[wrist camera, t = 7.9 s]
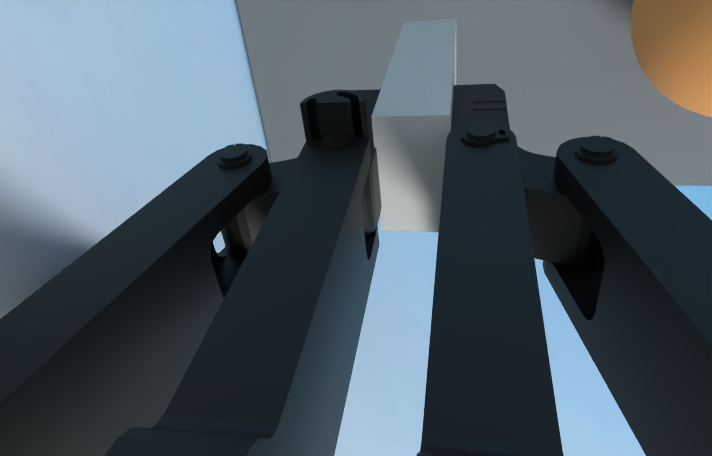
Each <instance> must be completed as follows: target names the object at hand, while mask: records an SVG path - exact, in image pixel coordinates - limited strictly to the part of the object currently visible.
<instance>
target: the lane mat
mask: <svg viewBox="0 0 712 456" xmlns="http://www.w3.org/2000/svg"><path fill="white" fill-rule="evenodd" d="M633 1H634V0H236V2H237V7H238V11H239V16H240V20H241V25H242V30H243V34H244V39H245V43H246V48H247V52H248V57H249V62H250V66H251V71H252V75H253V80H254V84H255V89H256V93H257V98H258V103H259V107H260V112H261V116H262V121H263V125H264V130H265V135H266V139H267V144H268V148H269V153H270V157H271V162H278V161H284V160H289V159H293V158H297V157H298V156H299V154H300V152H301V150H302V148H303V146H304V144H305V142H306V138H305V132H304V126H303V120H302V114H301V109H300V103H301V102H302V101H303V100H304V99H305V98H307V97H309V96H311V95H313V94H316V93H320V92H324V91H330V90H352V91H353V90H375V89H381V87H382V85H383V82H384V79H385V76H386V73H387V70H388V67H389V64H390V61H391V58H392V55H393V53H394V50H395V47H396V44H397V41H398V38H399V35H400V32H401V29H402V26H403V23H404V22H414V21H431V20H448V19H456V85H471V84H496V85H497V86H499V87H500V88H501V89H502V90H504V91H505V96H506V103H507V111H508V118H509V125H510V130H511V131H513V133H514V134H515V136H516V138H517V145H518V147H520V148H522V149H524V150H526V151H529V152H531V153H535V154H540V155H545V156H552V157H556V152H557V149H558V148H559V146H560V144H562V143H564V142H566V141H568V140H570V139H575V138H579V137H590V136H601V137H603V136H605V137H610V138H612V139H614V140H617V141H620V142H624V143H625V144H627V145H629V146H630V147H632V148H634V149H635V150H636V151H637V152H638V153H639V154H640V155H641V156H642V157H643V158H644V159H646V160H647V161H648V162H649V163H650V164H651V165H652V166H653V167H654V168H655V169H656V170H658V171H659V172H660V173H661V174H662V175H663V176H664V177H665V178H666V179H667V180H668V181H669V182H671V183H672V184H673V185H697V186H712V117H708V116H704V115H701V114H698V113H696V112H693V111H690V110H687V109H685V108H683V107H681V106H679V105H677V104H675V103H674V102H672V101H671V100H669V99H668V98H667V97H665V96H664V95H663V94H661V93H660V92H659V91H658V90H657V89H656V88H655V86H654V85H653V84H652V83H651V82H650V81H649V80H648V78H647V77H646V75H645V74H644V72H643V71H642V69H641V67H640V65H639V62H638V60H637V58H636V55H635V52H634V48H633V44H632V38H631V12H632V5H633Z"/></svg>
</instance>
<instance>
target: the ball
mask: <svg viewBox="0 0 712 456" xmlns="http://www.w3.org/2000/svg"><path fill="white" fill-rule="evenodd" d="M631 38H632V44H633V48H634V52H635V55H636V58H637V60H638V62H639V65H640V67H641V69H642V71H643V72H644V74H645V75H646V77H647V78H648V80H649V81H650V82H651V83H652V84H653V85H654V86H655V88H656V89H657V90H658V91H659V92H660V93H661V94H663V95H664V96H665V97H667V98H668V99H669V100H671V101H672V102H674V103H675V104H677V105H679V106H681V107H683V108H685V109H687V110H690V111H693V112H696V113H698V114H701V115H704V116H708V117H712V0H634V1H633V5H632V12H631Z"/></svg>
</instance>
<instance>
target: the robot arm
mask: <svg viewBox="0 0 712 456" xmlns="http://www.w3.org/2000/svg"><path fill="white" fill-rule="evenodd" d="M300 109H301V114H302V120H303V126H304V132H305V138H306V142H305V144H304V146H303V148H302V150H301V152H300V154H299V156H298V157H297V158H293V159H289V160H284V161H278V162H272V163H269V160H268V155H267V151H266V150H265V149H264V148H262V147H261V146H257V145H253V144H236V145H234V144H233V145H228V146H226V147H225V148H223V149H220V150H217V151H215V152H214V153H212V154H210V155H209V156H207V157H206V158H205V159H203V160H202V161H201V162H200V163H198V164H197V165H196V166H195V167H193V168H192V169H191V170H190V171H188V172H187V173H186V174H184V175H183V176H182V177H181V178H179V179H178V180H177V181H176V182H174V183H173V184H172V185H170V186H169V187H168V188H167V189H165V190H164V191H163V192H162V193H160V194H159V195H158V196H156V197H155V198H154V199H153V200H151V201H150V202H149V203H148V204H146V205H145V206H144V207H143V208H141V209H140V210H139V211H137V212H136V213H135V214H134V215H132V216H131V217H130V218H129V219H127V220H126V221H125V222H123V223H122V224H121V225H120V226H118V227H117V228H116V229H115V230H113V231H112V232H111V233H110V234H108V235H107V236H106V237H104V238H103V239H102V240H101V241H99V242H98V243H97V244H96V245H94V246H93V247H92V248H90V249H89V250H88V251H87V252H85V253H84V254H83V255H82V256H80V257H79V258H78V259H76V260H75V261H74V262H73V263H71V264H70V265H69V266H68V267H66V268H65V269H64V270H63V271H61V272H60V273H59V274H57V275H56V276H55V277H54V278H52V279H51V280H50V281H49V282H47V283H46V284H45V285H43V286H42V287H41V288H40V289H38V290H37V291H36V292H35V293H33V294H32V295H31V296H30V297H28V298H27V299H26V300H24V301H23V302H22V303H21V304H19V305H18V306H17V307H16V308H14V309H13V310H12V311H10V312H9V313H8V314H7V315H5V316H4V317H3V318H2V319H0V456H334V453H335V449H336V444H337V439H338V435H339V430H340V425H341V421H342V416H343V411H344V407H345V402H346V397H347V393H348V388H349V383H350V379H351V374H352V369H353V365H354V360H355V355H356V350H357V346H358V341H359V336H360V332H361V327H362V322H363V318H364V313H365V308H366V304H367V299H368V294H369V290H370V285H371V280H372V276H373V271H374V266H375V262H376V257H377V252H378V248H379V237H378V227H377V225H378V221H379V216H380V217H381V228H382V231H409V232H439V235H438V247H437V259H436V272H435V284H434V296H433V309H432V321H431V333H430V345H429V358H428V370H427V382H426V394H425V407H424V419H423V431H422V442H421V449H420V452H419V453H417V456H563V451H562V445H561V438H560V431H559V424H558V418H557V411H556V404H555V397H554V390H553V384H552V377H551V370H550V363H549V356H548V350H547V343H546V336H545V329H544V322H543V316H542V309H541V302H540V295H539V288H538V281H537V275H536V268H535V261H534V258H536V259H540V260H543V269H544V273H545V275H546V276H547V278H548V280H549V282H550V284H551V285H552V287H553V289H554V291H555V293H556V294H557V296H558V298H559V300H560V302H561V303H562V305H563V307H564V309H565V311H566V312H567V314H568V316H569V318H570V320H571V321H572V323H573V325H574V327H575V329H576V330H577V332H578V334H579V336H580V338H581V339H582V341H583V343H584V345H585V347H586V348H587V350H588V352H589V354H590V356H591V357H592V359H593V361H594V363H595V365H596V366H597V368H598V370H599V372H600V374H601V375H602V377H603V379H604V381H605V383H606V384H607V386H608V388H609V390H610V392H611V393H612V395H613V397H614V399H615V401H616V402H617V404H618V406H619V408H620V410H621V411H622V413H623V415H624V417H625V419H626V420H627V422H628V424H629V426H630V428H631V429H632V431H633V433H634V435H635V437H636V439H637V440H638V442H639V444H640V446H641V448H642V449H643V451H644V453H645V455H646V456H712V220H711V219H710V218H709V217H708V216H706V215H705V214H704V213H703V212H702V211H701V210H700V209H699V208H698V207H697V206H696V205H694V204H693V203H692V202H691V201H690V200H689V199H688V198H687V197H686V196H685V195H684V194H683V193H681V192H680V191H679V190H678V189H677V188H676V187H675V186H674V185H673V184H672V183H671V182H669V181H668V180H667V179H666V178H665V177H664V176H663V175H662V174H661V173H660V172H659V171H658V170H656V169H655V168H654V167H653V166H652V165H651V164H650V163H649V162H648V161H647V160H646V159H644V158H643V157H642V156H641V155H640V154H639V153H638V152H637V151H636V150H635V149H634V148H632V147H630V146H629V145H627V144H625V143H624V142H620V141H617V140H614V139H612V138H610V137H605V136H603V137H601V136H590V137H579V138H575V139H570V140H568V141H566V142H564V143H562V144H560V146H559V148H558V149H557V152H556V157H552V156H545V155H540V154H535V153H531V152H529V151H526V150H524V149H522V148H520V147H518V145H517V138H516V136H515V134H514V133H513V131H511V130H510V125H509V118H508V111H507V103H506V96H505V91H504V90H502V89H501V88H500V87H499V86H497V85H496V84H471V85H456V19H448V20H431V21H414V22H404V23H403V26H402V29H401V32H400V35H399V38H398V41H397V44H396V47H395V50H394V53H393V55H392V58H391V61H390V64H389V67H388V70H387V73H386V76H385V79H384V82H383V85H382V87H381V89H375V90H353V91H352V90H330V91H324V92H320V93H316V94H313V95H311V96H309V97H307V98H305V99H304V100H303V101H302V102H301V103H300ZM220 231H221V233H222V236H223V239H224V243H225V246H226V247H225V248H224V249H223V250H222V251H221V252H219V253H218V254H217V252H216V251H215V248H214V245H213V240H214V239H215V237H216V236H217V234H218V233H219V232H220Z"/></svg>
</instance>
